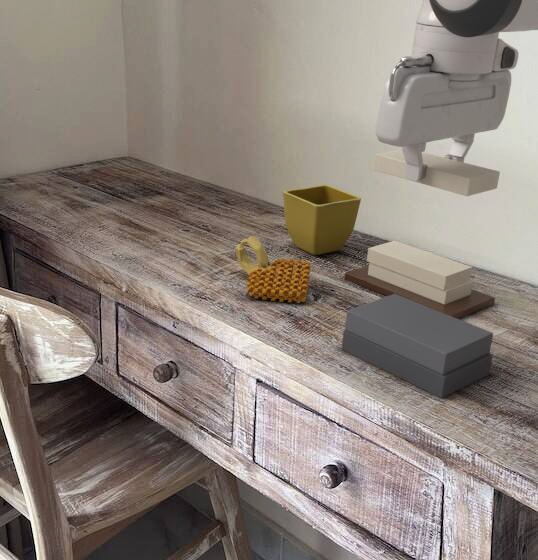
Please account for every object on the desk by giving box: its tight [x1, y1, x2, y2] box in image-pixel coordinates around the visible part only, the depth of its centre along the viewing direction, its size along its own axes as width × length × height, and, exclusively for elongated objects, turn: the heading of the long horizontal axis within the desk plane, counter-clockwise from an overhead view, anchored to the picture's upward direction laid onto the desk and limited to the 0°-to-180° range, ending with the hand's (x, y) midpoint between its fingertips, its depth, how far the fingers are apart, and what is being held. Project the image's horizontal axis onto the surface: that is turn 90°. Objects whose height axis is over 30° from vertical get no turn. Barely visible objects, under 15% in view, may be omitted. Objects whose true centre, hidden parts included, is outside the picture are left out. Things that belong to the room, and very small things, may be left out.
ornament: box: [235, 235, 312, 304], centre depth 112 cm, size 7×10×15 cm
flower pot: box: [282, 184, 362, 256], centre depth 126 cm, size 9×9×9 cm
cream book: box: [373, 148, 501, 197], centre depth 95 cm, size 13×6×2 cm, turn 40°
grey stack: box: [341, 294, 494, 399], centre depth 92 cm, size 14×9×5 cm, turn 40°
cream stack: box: [344, 240, 496, 320], centre depth 112 cm, size 18×10×5 cm, turn 40°
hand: (434, 174), depth 95 cm, fingers closed on cream book, 6 cm apart
